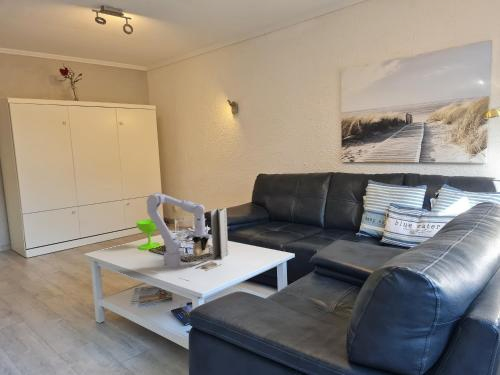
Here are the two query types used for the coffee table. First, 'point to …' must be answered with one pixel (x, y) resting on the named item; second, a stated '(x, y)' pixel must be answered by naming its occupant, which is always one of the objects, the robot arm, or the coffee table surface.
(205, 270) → the rack
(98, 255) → the coffee table surface
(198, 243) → the tan wooden block
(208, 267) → the offcut upper
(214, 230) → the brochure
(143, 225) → the wineglass
